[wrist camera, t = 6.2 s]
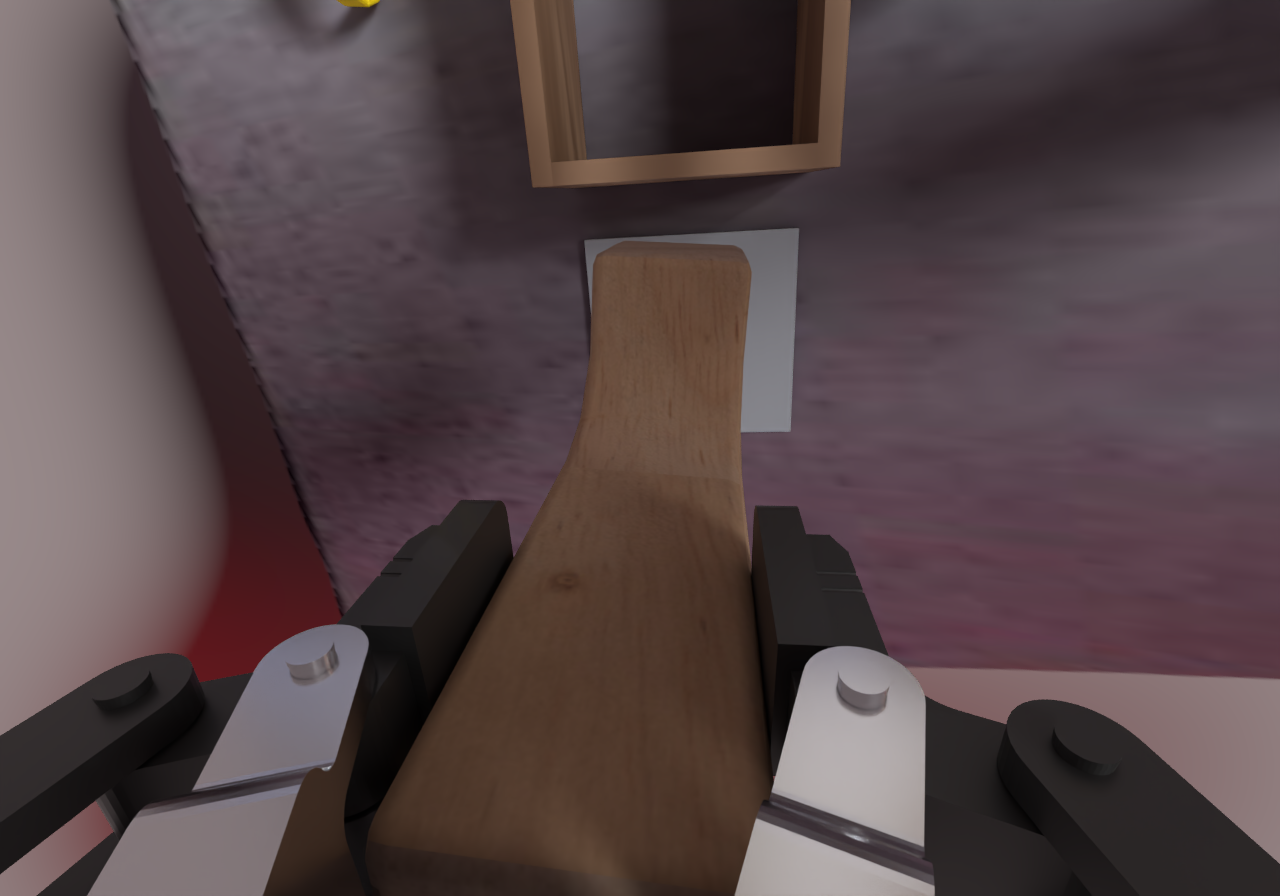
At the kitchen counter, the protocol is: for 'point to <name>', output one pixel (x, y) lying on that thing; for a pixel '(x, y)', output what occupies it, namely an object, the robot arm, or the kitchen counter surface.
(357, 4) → the watch
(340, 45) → the kitchen counter surface
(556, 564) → the wooden block
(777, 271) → the grey mat
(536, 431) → the kitchen counter surface
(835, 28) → the walnut sleeve
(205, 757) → the robot arm
